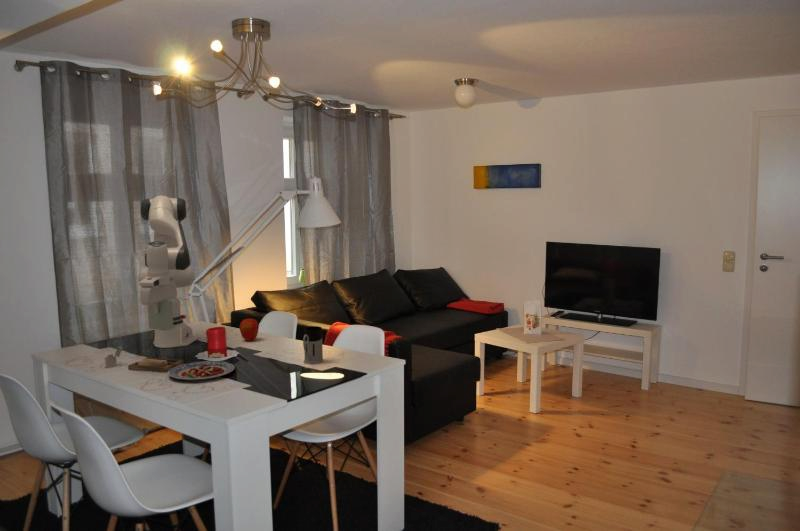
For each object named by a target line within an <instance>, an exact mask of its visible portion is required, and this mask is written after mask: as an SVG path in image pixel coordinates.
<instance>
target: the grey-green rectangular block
mask: <svg viewBox="0 0 800 531" xmlns="http://www.w3.org/2000/svg"><path fill="white" fill-rule="evenodd" d="M157 306H158V309H160V313H154V309H153V307H152V304H151V305H147V315H148V318H147V319H148V329H151V330H155V329H163V330H170V329H173V308H172V301H167V300H165V301H161V302H158V305H157Z"/></svg>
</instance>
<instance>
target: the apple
mask: <svg viewBox="0 0 800 531" xmlns="http://www.w3.org/2000/svg"><path fill="white" fill-rule="evenodd" d="M259 327H260V325H259V323H258V321H257V320H256V319H255V318H244V319H243V320H242V321H241V322H240V324H239V332H240V334H241V337H242V338H243V339H244V340H245V341H247V342H253V341H254V340H255V339H256V338H257V337H258V333H259V329H260V328H259Z"/></svg>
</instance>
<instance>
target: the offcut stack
mask: <svg viewBox="0 0 800 531" xmlns="http://www.w3.org/2000/svg"><path fill="white" fill-rule="evenodd" d="M137 361H138V364H139V365H144V366H157V367H166V366H168V363H167V360H154V359H145V358H143V360H142V359H140V360H137Z"/></svg>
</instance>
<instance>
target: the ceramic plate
mask: <svg viewBox="0 0 800 531" xmlns="http://www.w3.org/2000/svg"><path fill="white" fill-rule="evenodd" d="M234 369H235V366H234V364H232V363H230V362H226V361H218V360H216V361H215V360H211V361H210V360H209V361H208V360H206V361H195V362H190V363H184V365H180V366H177V367H175V368H173V369H171V370H170V371H168V372H167V373H168V376H170V377H172V378H174V379H178V380H186V381H206V380H211V379H216V378H218V377H222V376H224V375H227V374H230V373H231V372H233V371H234Z"/></svg>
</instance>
